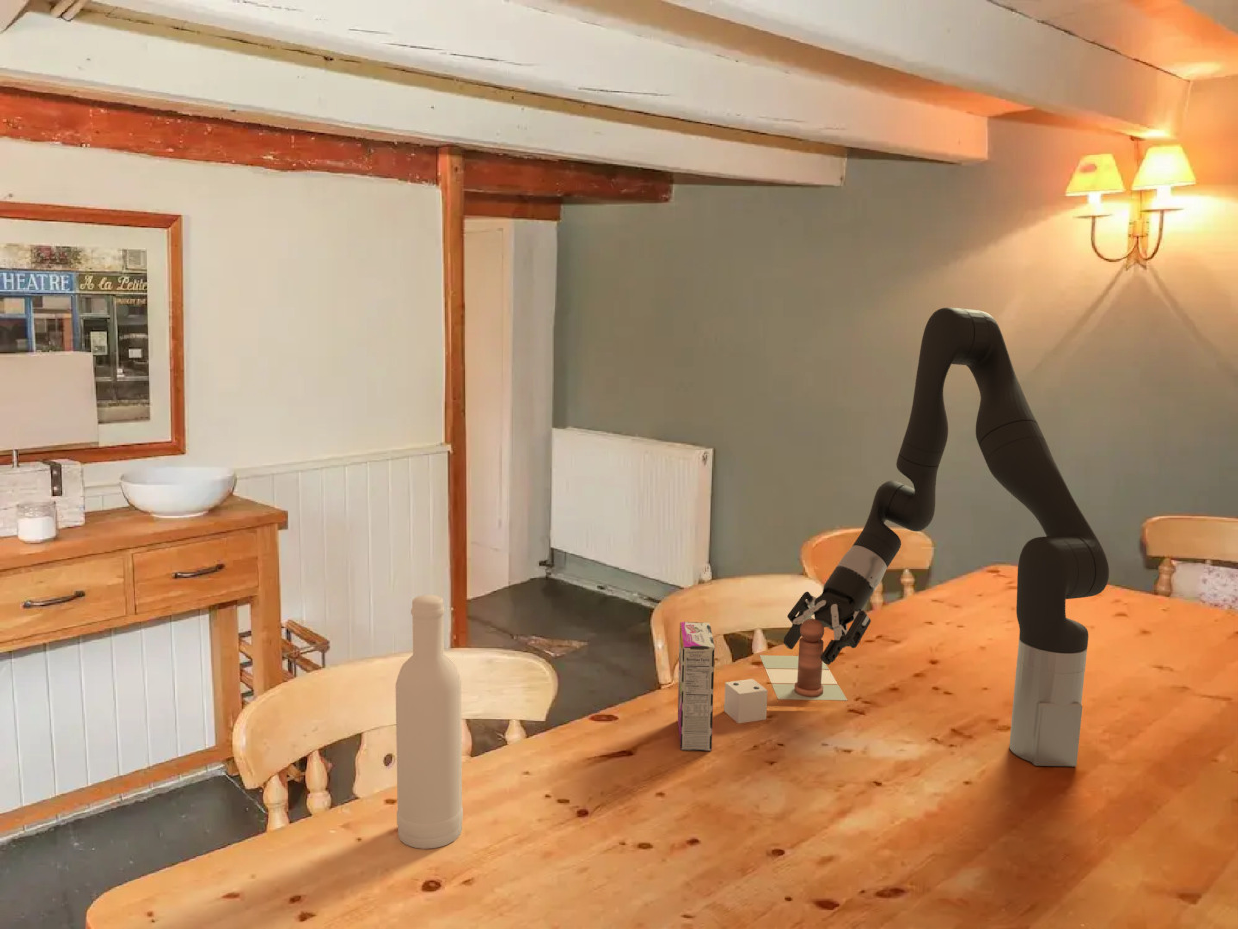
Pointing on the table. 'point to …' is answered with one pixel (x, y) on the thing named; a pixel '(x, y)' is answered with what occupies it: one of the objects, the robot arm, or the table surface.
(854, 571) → the robot arm
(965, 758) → the table surface
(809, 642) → the pawn
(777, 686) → the board
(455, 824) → the bottle
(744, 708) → the die
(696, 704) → the candy bar box
